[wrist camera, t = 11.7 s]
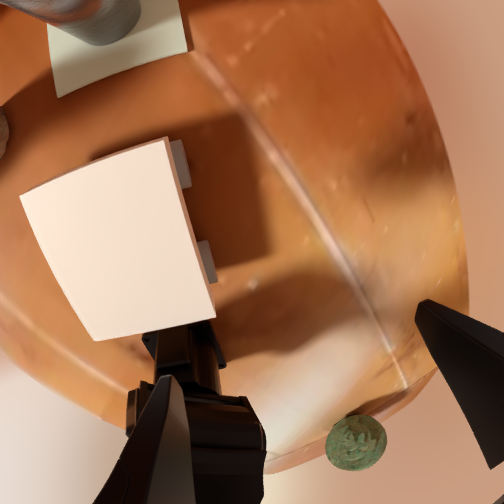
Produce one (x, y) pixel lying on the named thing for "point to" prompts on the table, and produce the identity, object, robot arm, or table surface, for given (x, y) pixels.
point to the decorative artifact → (356, 443)
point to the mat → (117, 47)
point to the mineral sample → (3, 132)
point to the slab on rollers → (125, 241)
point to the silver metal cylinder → (84, 17)
